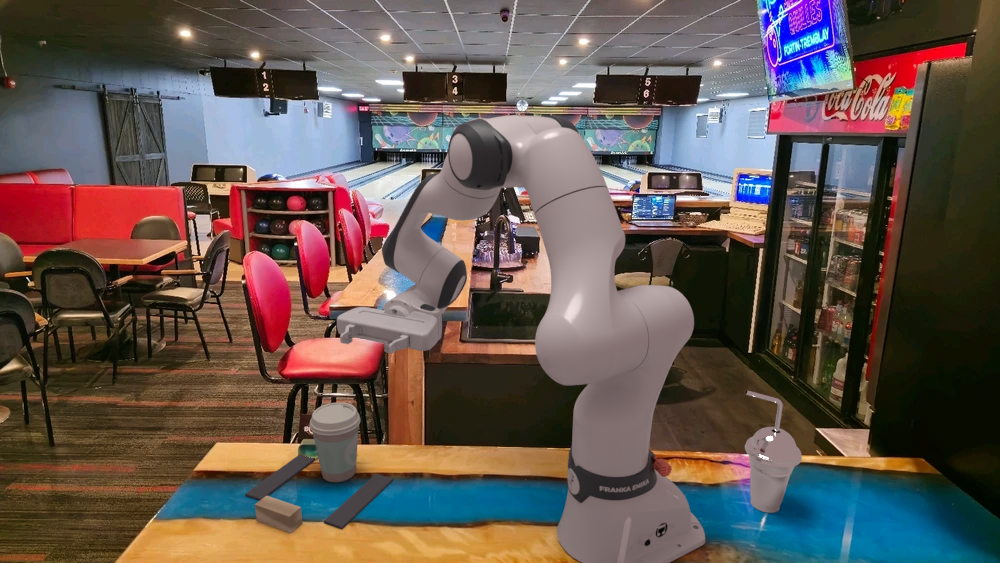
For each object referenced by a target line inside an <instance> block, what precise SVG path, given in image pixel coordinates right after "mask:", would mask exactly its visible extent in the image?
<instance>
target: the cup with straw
mask: <svg viewBox="0 0 1000 563" xmlns="http://www.w3.org/2000/svg"><path fill="white" fill-rule="evenodd" d="M745 395H746V396H750V397H753V398H757V399H761V400H764V401H768V402H772V403H775V404H777V410H776V417H775V423H774V424H775V425H774V426H766V427H762V428H760V429H759V430H757V431H756V432H755V433H754V434H753V436H751V437H749V438H748V439H747V440H746V442H745V444H744V450H745V452H746V454H747V455H748V457H749V458H748V459H749V465H750V477H749V478H750V480H749V481H750V483H749V484H750V491H749V492H750V493H749V494H750V497H751V498H750V502H749V503H750V504H751V506H752V507H753V508H755V509H756V510H758V511H761V512H763V513H768V514H771V513H772V514H773V513H777V512H779V510H780V509H781V504H782V503H783V500H784V496H785V493H786V490H787V486H788V482H789V480H790V477H791V475H792V473H793V470H794V469H795V467H796V466H798V465H799V464H800V463H802V461H803V460H802V459H803V458H802V452H801V450H800V448H799V447H798V446H797V444H796V442H795V439H794V437H792V435H791V434H790V433H789V432H787V431H786V430H784V429H783V428H780V427H781V426H780V425H781V419H782V414H783V413H782V412H783V408H784V407H783V405H784V404H783V402H782V400H781V399H779V398H778V397H774V396H769V395H767V394H766V395H765V394H762V393H758V392H755V391H750V390H746V392H745Z"/></svg>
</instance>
